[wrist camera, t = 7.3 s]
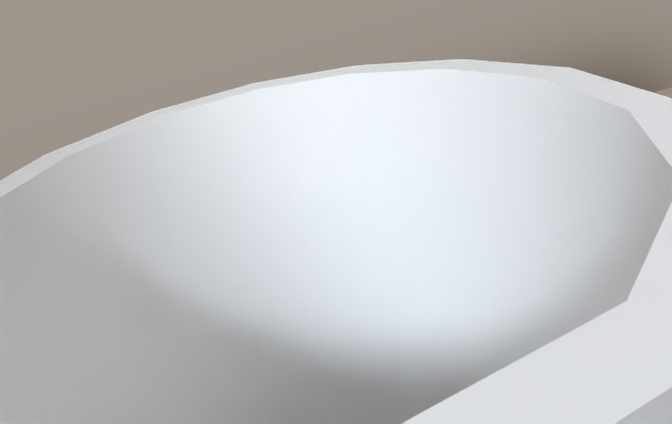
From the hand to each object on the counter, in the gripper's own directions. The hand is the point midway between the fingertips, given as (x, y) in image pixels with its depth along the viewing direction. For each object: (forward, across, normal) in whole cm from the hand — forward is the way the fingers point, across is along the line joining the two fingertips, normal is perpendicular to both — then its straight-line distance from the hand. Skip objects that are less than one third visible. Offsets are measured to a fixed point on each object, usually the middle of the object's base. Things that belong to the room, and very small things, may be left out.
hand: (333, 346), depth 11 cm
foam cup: (-3, 0, -8) cm, 8 cm away
